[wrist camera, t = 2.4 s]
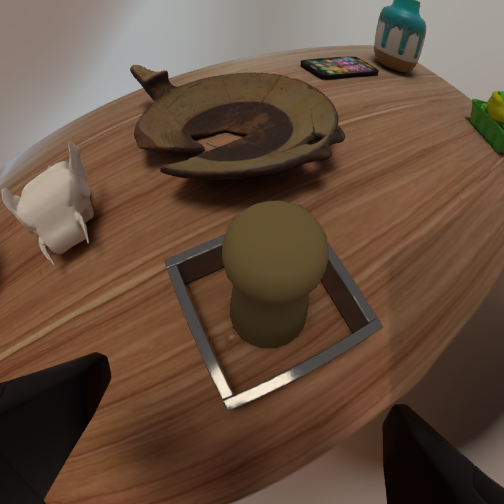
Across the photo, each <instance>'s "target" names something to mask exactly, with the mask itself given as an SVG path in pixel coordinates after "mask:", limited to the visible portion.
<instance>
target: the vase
mask: <svg viewBox="0 0 504 504" xmlns="http://www.w3.org/2000/svg"><path fill="white" fill-rule="evenodd" d="M419 8H420V2H419V1H417V0H394V1H393V4H392V5H391V6H387V7H384V8H383V9H382V11H381V13H380V17H379V20H378V25H377V30H376V36H375V45H374V52H375V56H376V58H377V59H378V61H379V62H380V63H382V64H383V65H385V66H386V67H388V68H390V69H393V70H396V71H401V72H408V71H410V70H412V69H413V68H414V67H415V66H416V64H417V62H418V59H419V57H420V54H421V51H422V47H423V43H424V39H425V34H426V24H425V21H424V20H423V19H422V18H421V17H420V15H419Z"/></svg>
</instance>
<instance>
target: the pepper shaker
mask: <svg viewBox="0 0 504 504" xmlns="http://www.w3.org/2000/svg"><path fill="white" fill-rule="evenodd" d="M328 258H329V249H328V243H327V237H326V234H325V233H324V231H323V229H322V227H321V225H320V223H319V222H318V221H317V220H316V219H315V218H314V217H313V216H312V215H311V214H310V213H309V212H308V211H307V210H305V209H303V208H301V207H299V206H297V205H295V204H292V203H288V202H284V201H266V202H262V203H258V204H254V205H253V206H251V207H249V208H247V209H246V210H244V211H242V212H241V213H240V214H239V215H238V216H237V217H236V218H235V219H234V220H233V221H232V222H231V223H230V225H229V227H228V229H227V232H226V234H225V236H224V239H223V244H222V260H223V264H224V267H225V270H226V273H227V276H228V278H229V280H230V281H231V282H232V284H233V290H232V298H231V305H230V318H231V321H232V324H233V327H234V329H235V330H236V332H237V333H238V334H239V335H240V337H241V338H242V339H244V340H245V341H247V342H248V343H250V344H251V345H254V346H258V347H261V348H277V347H280V346H283V345H285V344H288V343H289V342H291V341H292V340H293V339H294V338H296V337H297V336H298V335H299V333H300V332H301V330H302V329H303V327H304V324H305V320H306V317H307V309H308V300H309V293H310V292H311V291H313V290H314V289H315V288H316V286H317V285H318V283H319V282H320V280H321V278H322V277H323V275H324V273H325V271H326V268H327V263H328Z"/></svg>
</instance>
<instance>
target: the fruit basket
mask: <svg viewBox="0 0 504 504" xmlns="http://www.w3.org/2000/svg"><path fill="white" fill-rule="evenodd" d="M472 104H473V105H472V112H471V118H470V122H471V123H472V124H473V125H474V126H475V127H476V128H477V130H478V131H479V132H480V133H481V134H482V135H483V136H484V137H485V139H486V140H487V141H488V142H489V143H490V144H491V145H492V147H493V148H494V149H495V150H496V152H497V153H499V152H500V153H504V92H503V91H495V92H493V93H492V96H491V97H490V99H489V100H488V102H485V101H481V100H477V99H473V100H472Z"/></svg>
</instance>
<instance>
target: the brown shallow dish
mask: <svg viewBox="0 0 504 504" xmlns="http://www.w3.org/2000/svg"><path fill="white" fill-rule="evenodd" d="M130 71H131V73H132V74H133V76H134V77H135V78H136V79H137V81H138V82H139V83H140V84H141V85H142V87H143V88H144V89H145V91H146V92H147V93H148V94H149V95H150V97H151V98H152V99H153V100H154V103H153V104H152V105H151V106H150V107H149V108H148V109H147V110H146V111H145V112H144V113H143V114H142V116H141V117H140V119H139V121H138V122H137V125H136V127H135V132H134V136H135V140H136V142H137V146H138V147H139V148H141V149H146V150H150V151H151V150H153V151H165V152H175V153H178V152H181V153H182V152H186V153H192V152H204V151H205V148H204V147H203V146H202V145H201V144H199V143H198V142H196V141H195V140H193V139H192V138H201V137H204V136H208V135H212V134H216V133H219V132H224V131H227V132H232V133H238V134H241V135H246V136H245V137H243V138H242V139H239V140H236V141H233V142H232V143H229V144H227V145H224V146H221V147H217V148H215V149H213V150H210V151H206V152H205V153H202V154H200V155H197V156H195V157H193V158H190V159H188V160H187V161H182V162H178V163H174V164H166V165H163V166H162V167H161V168H160V170H161V172H162V173H165V174H168V175H172V176H177V177H181V178H189V179H204V180H228V179H240V178H247V177H254V176H260V175H266V174H272V173H277V172H281V171H285V170H289V169H292V168H295V167H297V166H299V165H302V164H304V163H308V162H312V161H320V160H325V159H329V158H330V157H331V156H332V152H331V150H330V146H331V145H333V144H335V143H340V142H342V141H344V139H345V134H344V132H343V131H342V129H341V128H340V127H339V126H338V114H337V112H336V109H335V107H334V105H333V104H332V102H331V101H330V100H329V99H328V98H327V97H326V96H325V95H324V94H323V93H322V92H321V91H319V90H318V89H316V88H314V87H312V86H311V85H309V84H308V83H306V82H303V81H301V80H298V79H291V78H288V77H287V76H282V75H276V74H268V73H237V74H228V75H221V76H220V75H219V76H214V77H208V78H204V79H200V80H197V81H194V82H191V83H188V84H185V85H182V86H179V87H176V86H173V85H171V83H170V82H169V79H168V72H167V71H161V72H154V71H150V70H148V69H146V68H145V67H142V66H140V65H133V66H132V67H131V68H130ZM314 140H320V141H319V142H317V143H315V144H309V143H310V142H312V141H314ZM207 144H210V142H209V141H208V143H207ZM210 145H211V146H214V145H212V144H210Z"/></svg>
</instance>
